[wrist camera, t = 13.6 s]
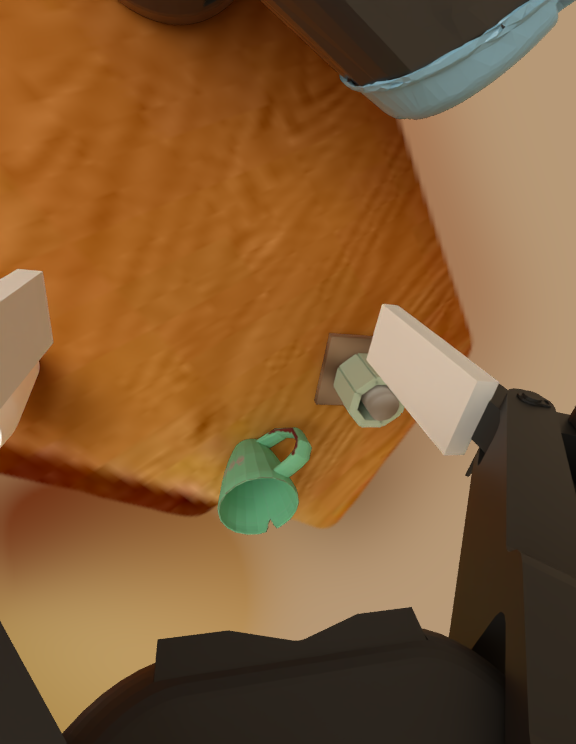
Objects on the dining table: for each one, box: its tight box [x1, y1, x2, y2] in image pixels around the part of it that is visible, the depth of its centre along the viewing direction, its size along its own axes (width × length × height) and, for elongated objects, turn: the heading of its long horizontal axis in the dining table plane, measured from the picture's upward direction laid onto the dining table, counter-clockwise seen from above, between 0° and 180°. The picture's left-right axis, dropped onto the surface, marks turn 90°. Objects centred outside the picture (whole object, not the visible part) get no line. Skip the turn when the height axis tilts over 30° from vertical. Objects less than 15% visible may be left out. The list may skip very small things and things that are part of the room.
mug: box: [218, 427, 312, 534], centre depth 49 cm, size 15×10×10 cm
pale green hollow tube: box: [334, 353, 404, 427], centre depth 46 cm, size 7×7×6 cm
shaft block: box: [314, 333, 399, 421], centre depth 46 cm, size 10×10×9 cm
